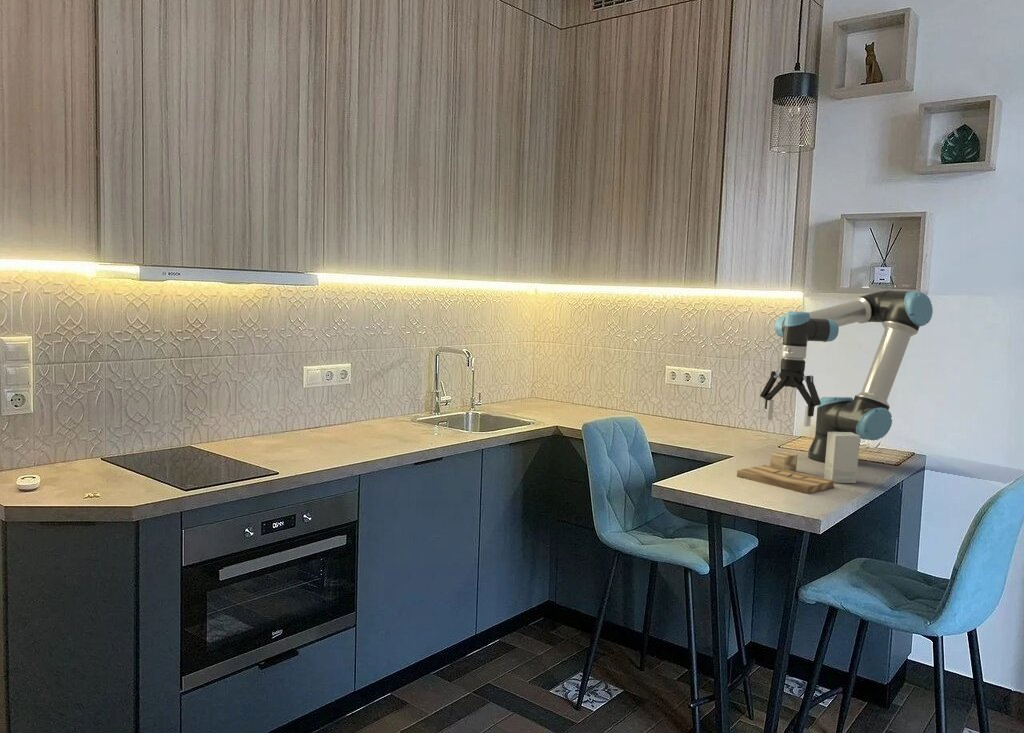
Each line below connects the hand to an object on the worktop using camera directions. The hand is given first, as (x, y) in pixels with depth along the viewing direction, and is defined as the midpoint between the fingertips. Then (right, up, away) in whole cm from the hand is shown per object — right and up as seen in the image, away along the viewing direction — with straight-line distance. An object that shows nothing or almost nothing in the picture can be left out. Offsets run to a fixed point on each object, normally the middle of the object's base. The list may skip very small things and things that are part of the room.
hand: (787, 422), depth 260 cm
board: (-6, -18, -13) cm, 22 cm away
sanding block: (-1, -16, +2) cm, 17 cm away
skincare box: (+14, -18, -8) cm, 24 cm away
